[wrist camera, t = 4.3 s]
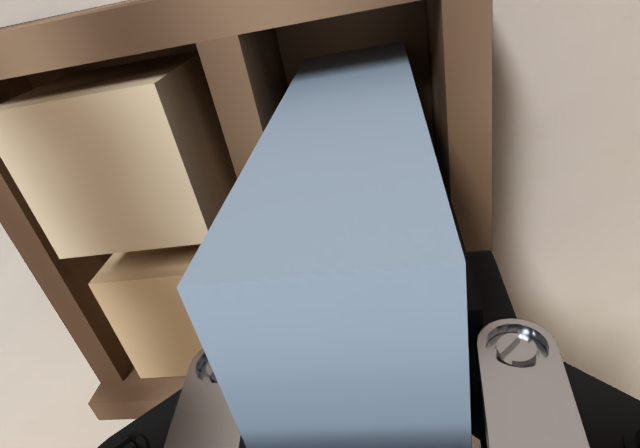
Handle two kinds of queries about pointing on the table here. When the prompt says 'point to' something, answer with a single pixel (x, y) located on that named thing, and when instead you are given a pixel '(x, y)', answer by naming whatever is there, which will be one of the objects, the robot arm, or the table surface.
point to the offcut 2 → (149, 308)
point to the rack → (248, 117)
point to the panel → (338, 271)
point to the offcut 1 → (120, 156)
